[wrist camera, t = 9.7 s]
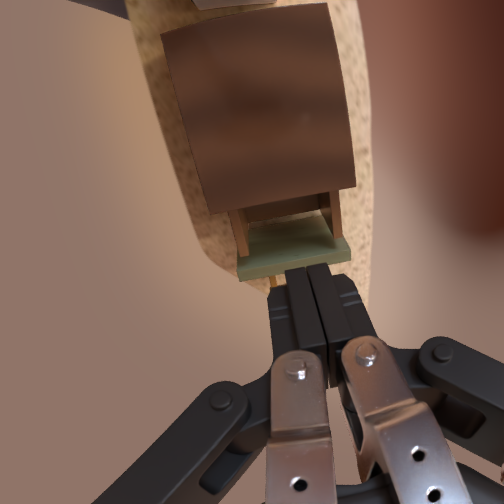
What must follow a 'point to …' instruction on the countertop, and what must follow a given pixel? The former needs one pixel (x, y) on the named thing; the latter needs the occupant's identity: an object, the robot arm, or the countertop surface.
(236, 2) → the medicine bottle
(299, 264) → the drawer
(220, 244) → the countertop surface
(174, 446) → the robot arm
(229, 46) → the cabinet
